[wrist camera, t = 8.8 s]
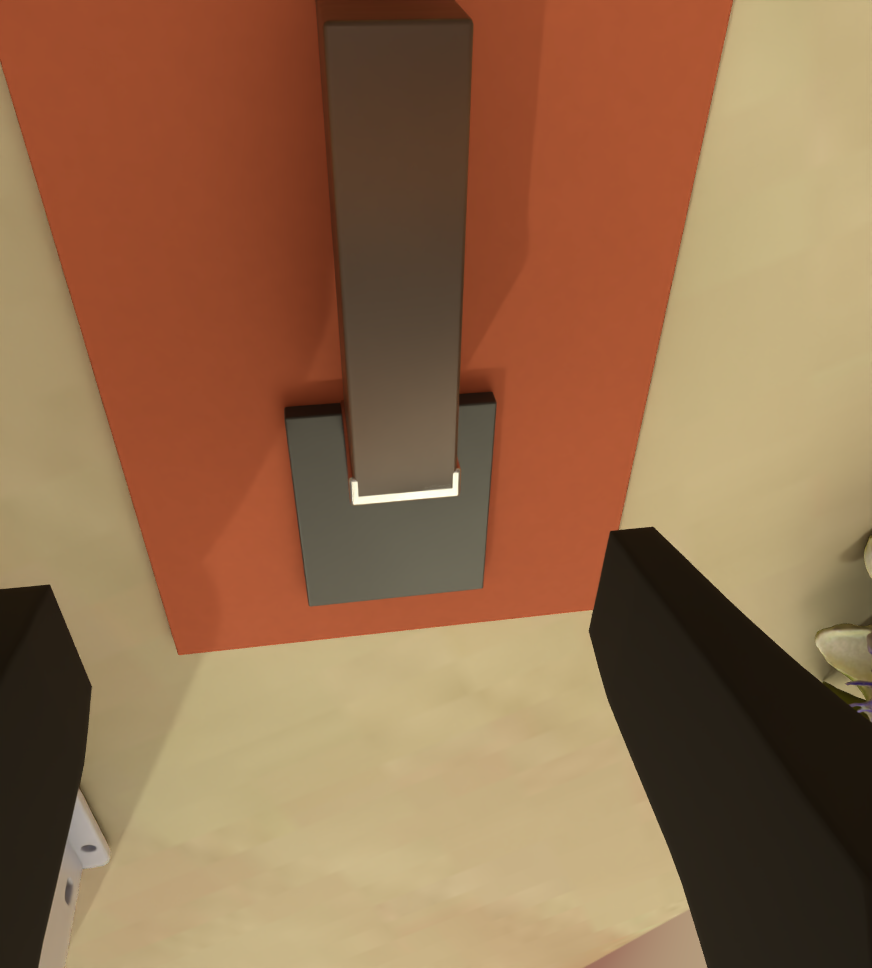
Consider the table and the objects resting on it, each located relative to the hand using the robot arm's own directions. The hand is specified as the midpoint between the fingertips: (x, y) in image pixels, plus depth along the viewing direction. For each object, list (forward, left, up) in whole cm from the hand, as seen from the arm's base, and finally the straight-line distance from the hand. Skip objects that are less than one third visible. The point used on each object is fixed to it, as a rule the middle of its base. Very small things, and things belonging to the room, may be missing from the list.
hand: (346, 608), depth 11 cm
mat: (-1, -2, -9) cm, 9 cm away
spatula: (-1, -2, -9) cm, 9 cm away
